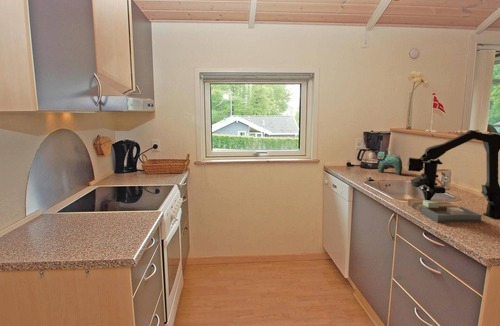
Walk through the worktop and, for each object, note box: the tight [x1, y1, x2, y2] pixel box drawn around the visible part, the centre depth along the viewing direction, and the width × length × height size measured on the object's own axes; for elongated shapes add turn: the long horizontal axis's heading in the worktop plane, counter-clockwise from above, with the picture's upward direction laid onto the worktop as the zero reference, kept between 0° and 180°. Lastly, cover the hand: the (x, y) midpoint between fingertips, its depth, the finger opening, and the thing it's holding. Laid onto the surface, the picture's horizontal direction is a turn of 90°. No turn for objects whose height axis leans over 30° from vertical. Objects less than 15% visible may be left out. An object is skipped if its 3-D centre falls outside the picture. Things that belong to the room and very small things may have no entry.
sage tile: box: [422, 199, 439, 208], centre depth 156 cm, size 5×5×2 cm
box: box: [420, 206, 483, 224], centre depth 148 cm, size 13×20×4 cm, turn 92°
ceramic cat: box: [376, 148, 403, 176], centre depth 254 cm, size 20×6×20 cm, turn 40°
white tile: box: [447, 207, 464, 214], centre depth 149 cm, size 5×5×2 cm
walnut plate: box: [407, 199, 460, 213], centre depth 162 cm, size 14×18×3 cm
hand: (426, 202), depth 160 cm, fingers closed
